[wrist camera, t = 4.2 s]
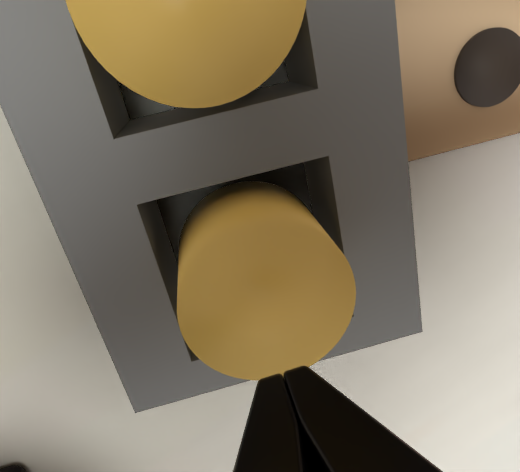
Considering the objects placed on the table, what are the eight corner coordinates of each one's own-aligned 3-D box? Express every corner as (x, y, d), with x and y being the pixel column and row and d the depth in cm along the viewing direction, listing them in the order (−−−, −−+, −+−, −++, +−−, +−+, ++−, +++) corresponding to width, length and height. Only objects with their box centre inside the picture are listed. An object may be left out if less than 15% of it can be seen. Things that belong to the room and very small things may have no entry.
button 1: (327, 289, 17) (365, 353, 13) (200, 324, 17) (204, 399, 13) (304, 165, 15) (342, 199, 11) (160, 201, 15) (152, 249, 11)
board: (379, 282, 20) (422, 331, 17) (144, 346, 20) (135, 412, 16) (268, -622, 11) (313, -984, 7) (-211, -551, 10) (-444, -907, 6)
